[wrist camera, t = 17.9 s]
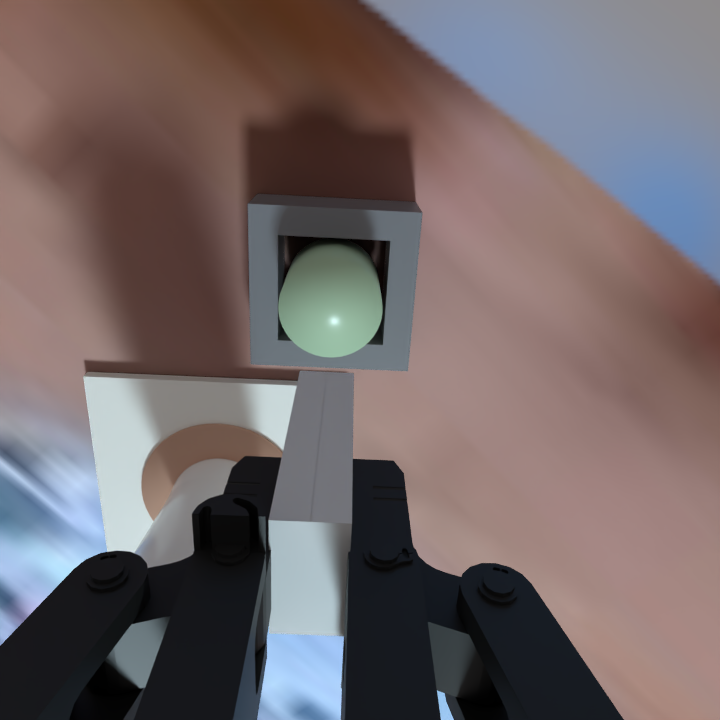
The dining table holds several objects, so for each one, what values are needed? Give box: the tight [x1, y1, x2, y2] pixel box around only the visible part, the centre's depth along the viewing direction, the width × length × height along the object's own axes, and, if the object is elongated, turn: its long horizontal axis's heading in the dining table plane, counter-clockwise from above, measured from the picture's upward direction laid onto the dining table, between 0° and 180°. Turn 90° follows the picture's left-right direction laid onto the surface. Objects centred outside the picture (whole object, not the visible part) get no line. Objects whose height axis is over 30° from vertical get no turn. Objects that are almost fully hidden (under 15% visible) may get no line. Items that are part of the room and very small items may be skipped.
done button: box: [278, 238, 382, 357], centre depth 28 cm, size 4×4×4 cm
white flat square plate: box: [83, 372, 298, 553], centre depth 36 cm, size 14×14×1 cm
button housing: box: [248, 194, 422, 371], centre depth 30 cm, size 8×8×3 cm
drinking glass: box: [134, 458, 238, 568], centre depth 28 cm, size 7×7×15 cm
